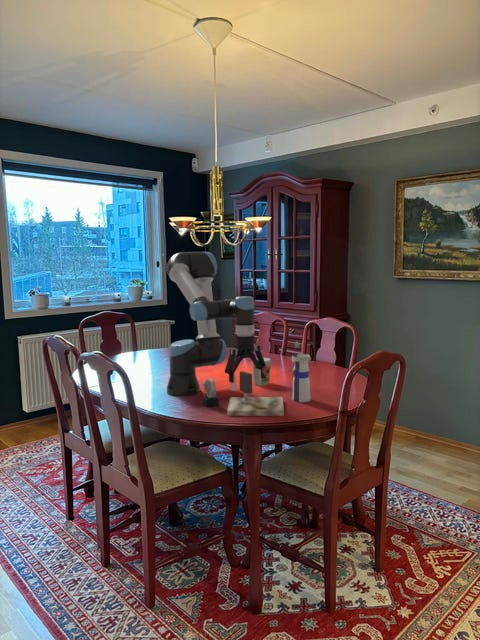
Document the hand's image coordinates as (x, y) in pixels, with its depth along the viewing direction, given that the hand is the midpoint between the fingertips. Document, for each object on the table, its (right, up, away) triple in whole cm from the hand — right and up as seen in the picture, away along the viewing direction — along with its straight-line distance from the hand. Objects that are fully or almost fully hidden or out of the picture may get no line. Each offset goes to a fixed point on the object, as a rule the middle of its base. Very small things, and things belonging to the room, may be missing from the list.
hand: (245, 387), depth 197 cm
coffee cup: (+8, -4, +37) cm, 39 cm away
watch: (-15, -8, +6) cm, 18 cm away
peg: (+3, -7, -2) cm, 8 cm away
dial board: (+4, -9, 0) cm, 9 cm away
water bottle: (+24, -7, +11) cm, 27 cm away
